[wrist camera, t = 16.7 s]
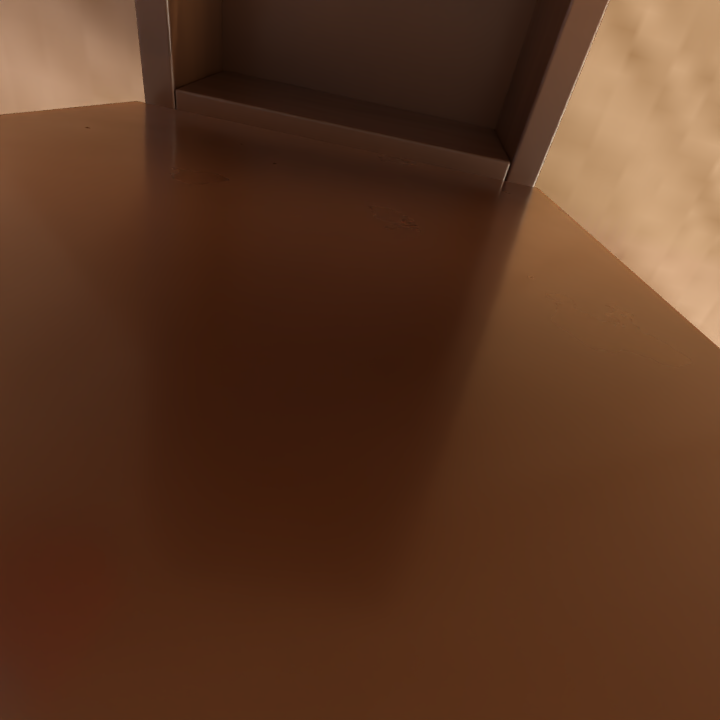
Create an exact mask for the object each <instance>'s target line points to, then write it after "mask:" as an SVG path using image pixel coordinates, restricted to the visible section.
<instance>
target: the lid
mask: <svg viewBox="0 0 720 720" xmlns="http://www.w3.org/2000/svg"><path fill="white" fill-rule="evenodd" d="M0 720H720V348H719V347H718V346H716V345H715V344H714V343H713V342H712V341H711V340H710V339H709V338H707V337H706V336H705V335H704V334H703V333H702V332H701V331H699V330H698V329H697V328H696V327H695V326H694V325H693V324H692V323H690V322H689V321H688V320H687V319H686V318H685V317H684V316H682V315H681V314H680V313H679V312H678V311H677V310H676V309H675V308H673V307H672V306H671V305H670V304H669V303H668V302H667V301H665V300H664V299H663V298H662V297H661V296H660V295H659V294H658V293H656V292H655V291H654V290H653V289H652V288H651V287H650V286H648V285H647V284H646V283H645V282H644V281H643V280H642V279H640V278H639V277H638V276H637V275H636V274H635V273H634V272H633V271H631V270H630V269H629V268H628V267H627V266H626V265H625V264H623V263H622V262H621V261H620V260H619V259H618V258H617V257H616V256H614V255H613V254H612V253H611V252H610V251H609V250H608V249H606V248H605V247H604V246H603V245H602V244H601V243H600V242H599V241H597V240H596V239H595V238H594V237H593V236H592V235H591V234H589V233H588V232H587V231H586V230H585V229H584V228H583V227H582V226H580V225H579V224H578V223H577V222H576V221H575V220H574V219H572V218H571V217H570V216H569V215H568V214H567V213H566V212H565V211H563V210H562V209H561V208H560V207H559V206H558V205H557V204H555V203H554V202H553V201H552V200H551V199H550V198H549V197H548V196H546V195H545V194H544V193H543V192H542V191H541V190H540V189H538V188H535V187H530V186H526V185H521V184H517V183H512V182H507V181H503V180H498V179H494V178H489V177H484V176H480V175H475V174H471V173H466V172H461V171H457V170H452V169H448V168H443V167H438V166H434V165H429V164H424V163H420V162H415V161H411V160H406V159H401V158H397V157H392V156H388V155H383V154H378V153H374V152H369V151H365V150H360V149H355V148H351V147H346V146H341V145H337V144H332V143H328V142H323V141H318V140H314V139H309V138H305V137H300V136H295V135H291V134H286V133H282V132H277V131H272V130H268V129H263V128H258V127H254V126H249V125H245V124H240V123H235V122H231V121H226V120H222V119H217V118H212V117H208V116H203V115H199V114H194V113H189V112H185V111H180V110H175V109H171V108H166V107H162V106H157V105H152V104H148V103H143V102H139V101H133V102H123V103H113V104H103V105H93V106H83V107H73V108H63V109H53V110H43V111H33V112H23V113H13V114H3V115H0Z"/></svg>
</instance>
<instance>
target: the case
mask: <svg viewBox="0 0 720 720" xmlns="http://www.w3.org/2000/svg"><path fill="white" fill-rule="evenodd" d="M609 2H610V0H135V7H136V16H137V26H138V35H139V45H140V54H141V64H142V74H143V83H144V93H145V102H146V103H148V104H152V105H157V106H162V107H166V108H171V109H175V110H180V111H185V112H189V113H194V114H199V115H203V116H208V117H212V118H217V119H222V120H226V121H231V122H235V123H240V124H245V125H249V126H254V127H258V128H263V129H268V130H272V131H277V132H282V133H286V134H291V135H295V136H300V137H305V138H309V139H314V140H318V141H323V142H328V143H332V144H337V145H341V146H346V147H351V148H355V149H360V150H365V151H369V152H374V153H378V154H383V155H388V156H392V157H397V158H401V159H406V160H411V161H415V162H420V163H424V164H429V165H434V166H438V167H443V168H448V169H452V170H457V171H461V172H466V173H471V174H475V175H480V176H484V177H489V178H494V179H498V180H503V181H507V182H512V183H517V184H521V185H526V186H530V187H534V186H535V184H536V181H537V179H538V176H539V174H540V171H541V169H542V166H543V164H544V161H545V159H546V157H547V154H548V152H549V149H550V147H551V144H552V142H553V139H554V137H555V134H556V132H557V130H558V127H559V125H560V122H561V120H562V117H563V115H564V112H565V110H566V107H567V105H568V103H569V100H570V98H571V95H572V93H573V90H574V88H575V85H576V83H577V80H578V78H579V76H580V73H581V71H582V68H583V66H584V63H585V61H586V58H587V56H588V53H589V51H590V49H591V46H592V44H593V41H594V39H595V36H596V34H597V31H598V29H599V26H600V24H601V22H602V19H603V17H604V14H605V12H606V9H607V7H608V4H609Z"/></svg>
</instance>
